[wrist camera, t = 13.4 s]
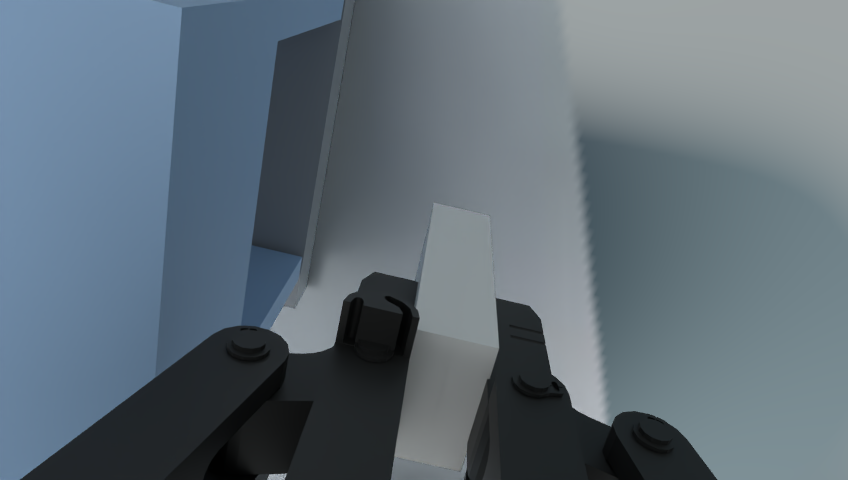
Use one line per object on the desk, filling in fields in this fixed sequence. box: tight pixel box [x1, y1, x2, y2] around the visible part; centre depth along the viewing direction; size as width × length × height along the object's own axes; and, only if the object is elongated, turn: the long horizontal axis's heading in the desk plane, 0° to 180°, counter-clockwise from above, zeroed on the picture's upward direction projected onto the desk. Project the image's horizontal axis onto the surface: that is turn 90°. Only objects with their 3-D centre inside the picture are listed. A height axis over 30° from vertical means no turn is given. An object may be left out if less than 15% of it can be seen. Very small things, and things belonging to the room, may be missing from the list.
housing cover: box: [0, 0, 344, 480], centre depth 18 cm, size 9×11×13 cm
